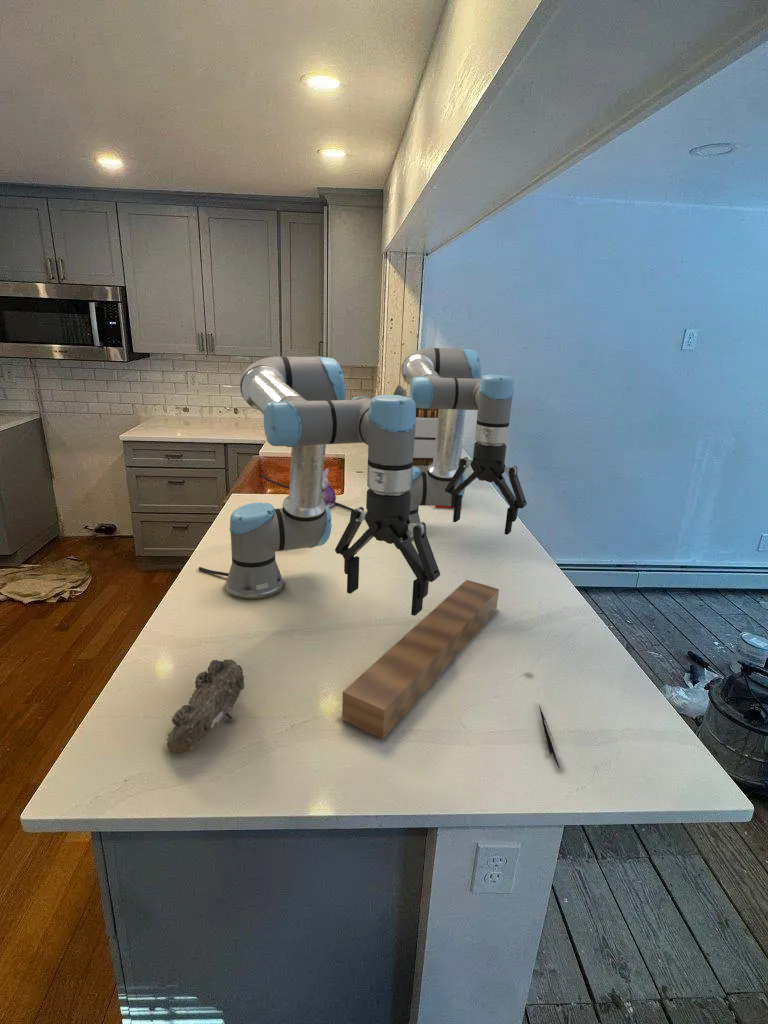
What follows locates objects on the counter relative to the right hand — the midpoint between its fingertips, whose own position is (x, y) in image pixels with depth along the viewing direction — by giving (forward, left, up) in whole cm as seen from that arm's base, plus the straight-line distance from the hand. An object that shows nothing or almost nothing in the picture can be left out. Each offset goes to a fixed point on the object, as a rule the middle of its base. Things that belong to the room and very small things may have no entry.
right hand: (481, 526), depth 140 cm
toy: (-73, +64, -25) cm, 100 cm away
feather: (+35, -20, -25) cm, 47 cm away
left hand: (+14, -44, 0) cm, 47 cm away
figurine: (-92, +17, -25) cm, 97 cm away
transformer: (-106, +83, -25) cm, 137 cm away
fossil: (-4, -70, -25) cm, 74 cm away
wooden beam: (+7, -22, -25) cm, 34 cm away
